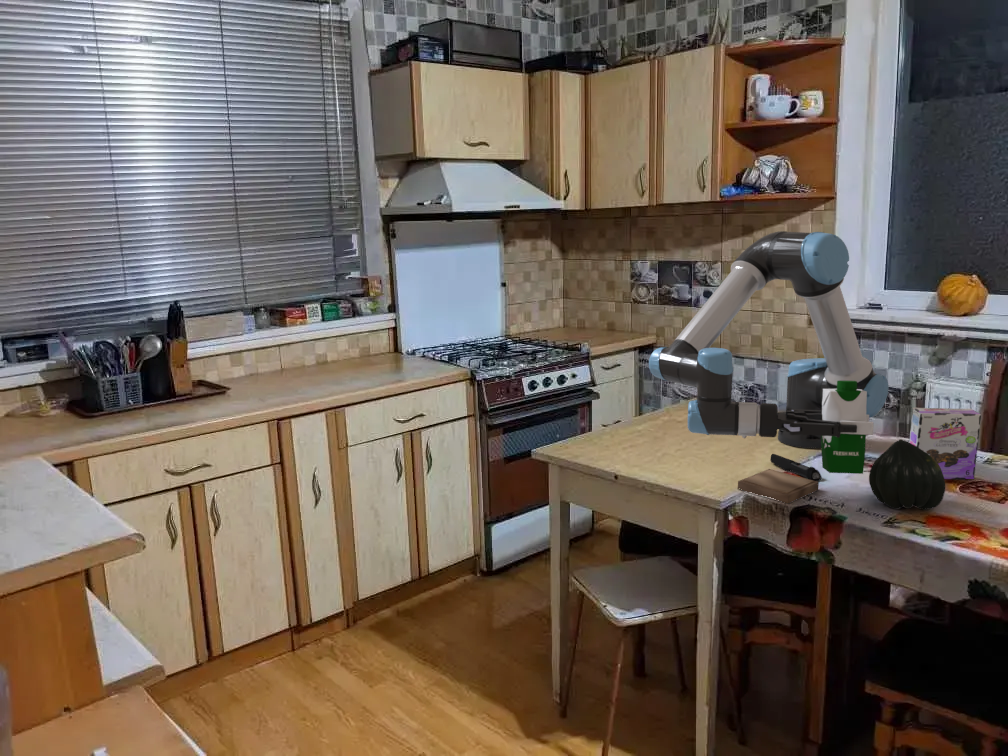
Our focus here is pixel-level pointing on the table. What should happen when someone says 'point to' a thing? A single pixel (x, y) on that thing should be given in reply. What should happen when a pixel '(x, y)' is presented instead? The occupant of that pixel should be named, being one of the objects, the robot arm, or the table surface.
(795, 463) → the electric trimmer
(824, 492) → the table surface
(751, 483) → the board
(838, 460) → the milk carton
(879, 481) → the squash
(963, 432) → the candy box
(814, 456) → the table surface
